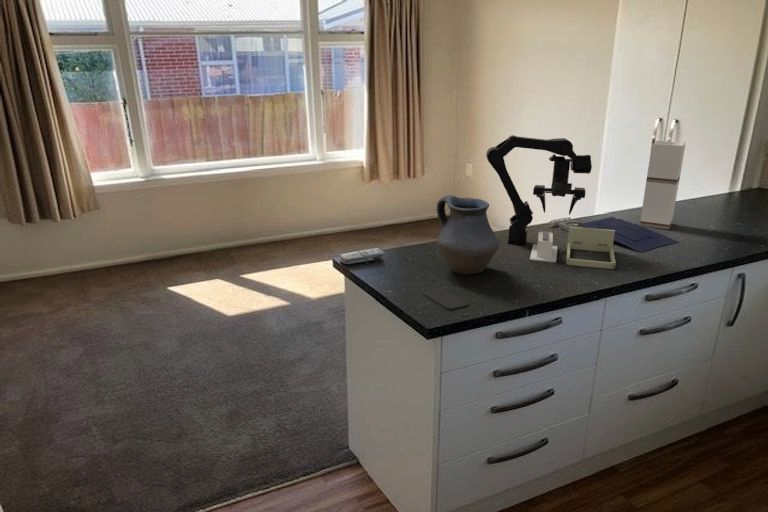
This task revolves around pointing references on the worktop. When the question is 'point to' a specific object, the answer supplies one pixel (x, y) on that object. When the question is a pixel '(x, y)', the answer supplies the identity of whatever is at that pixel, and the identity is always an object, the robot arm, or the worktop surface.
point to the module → (545, 244)
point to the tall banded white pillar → (662, 184)
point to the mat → (535, 258)
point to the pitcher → (466, 234)
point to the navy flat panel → (631, 234)
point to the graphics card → (565, 224)
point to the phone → (445, 299)
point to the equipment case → (591, 245)
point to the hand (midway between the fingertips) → (556, 213)
